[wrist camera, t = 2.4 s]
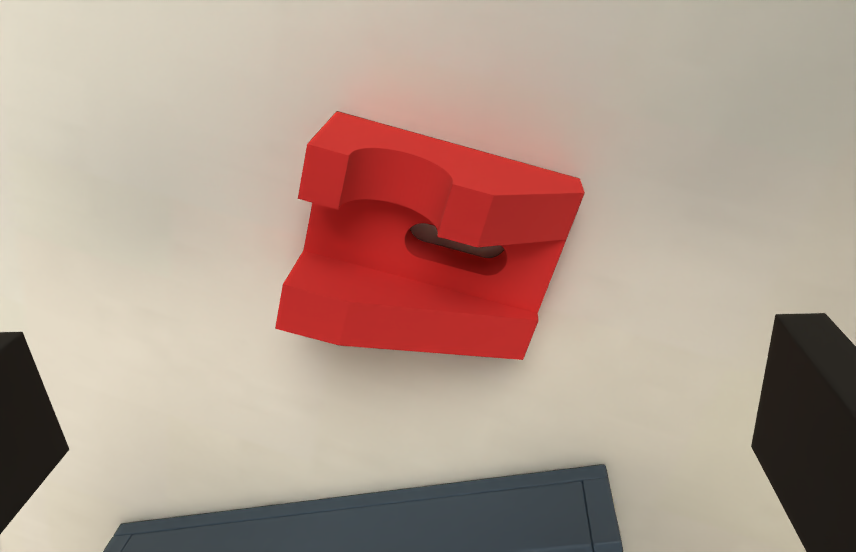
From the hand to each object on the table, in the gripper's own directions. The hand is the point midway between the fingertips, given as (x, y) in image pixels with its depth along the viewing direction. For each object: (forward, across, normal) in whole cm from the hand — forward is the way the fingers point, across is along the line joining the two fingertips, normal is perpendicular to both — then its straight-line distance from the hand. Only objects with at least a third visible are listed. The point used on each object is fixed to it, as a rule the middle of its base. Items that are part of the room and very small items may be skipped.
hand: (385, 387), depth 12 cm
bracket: (+7, 0, 0) cm, 7 cm away
